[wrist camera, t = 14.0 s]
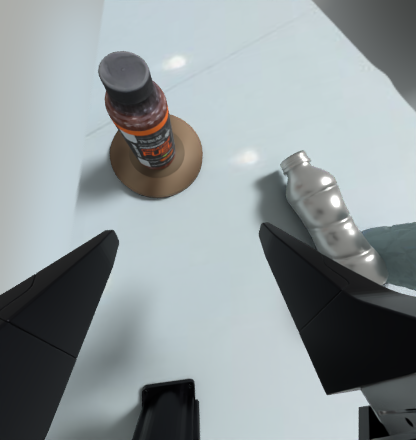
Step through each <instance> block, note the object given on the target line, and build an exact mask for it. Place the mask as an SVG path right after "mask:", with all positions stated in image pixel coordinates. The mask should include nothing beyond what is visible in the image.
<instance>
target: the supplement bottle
mask: <svg viewBox="0 0 416 440" xmlns="http://www.w3.org/2000/svg"><path fill="white" fill-rule="evenodd" d="M98 73H99V77H100V79H101V81H102V83H103V85H104V86H105V89H106V94H105V106H106V109H107V112H108V114H109V116H110V118H111V119H112V121H113V122H114V124H115V125H116V127H117V129H118V130H119V132H120V133H121V135H122V136H123V138H124V139H125V141H126V142H127V144H128V145H129V147H130V149H131V150H132V152H133V153H134V155H135V156H136V158H137V159H138V161H139V162H140V163H141V164H142V165H144V166H145V167H147V168H149V169H153V170H155V169H163V168H165V167H167V166H169V165H170V164H171V163H172V161H173V160H174V158H175V154H176V150H175V143H174V138H173V132H172V127H171V121H170V116H169V111H168V106H167V101H166V98H165V95H164V93H163V91H162V90H161V88H160V87H159V86H158V85H157V84H156V83H155V82H154V81H152V78H151V75H150V71H149V68H148V66H147V64H146V62H145V61H144V60H143V59H142V58H141V57H140V56H138V55H136V54H134V53H130V52H126V51H120V52H113V53H110V54H108V56H106V57H104V59H103V60H102V61H101V62H100V65H99V69H98Z"/></svg>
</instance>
